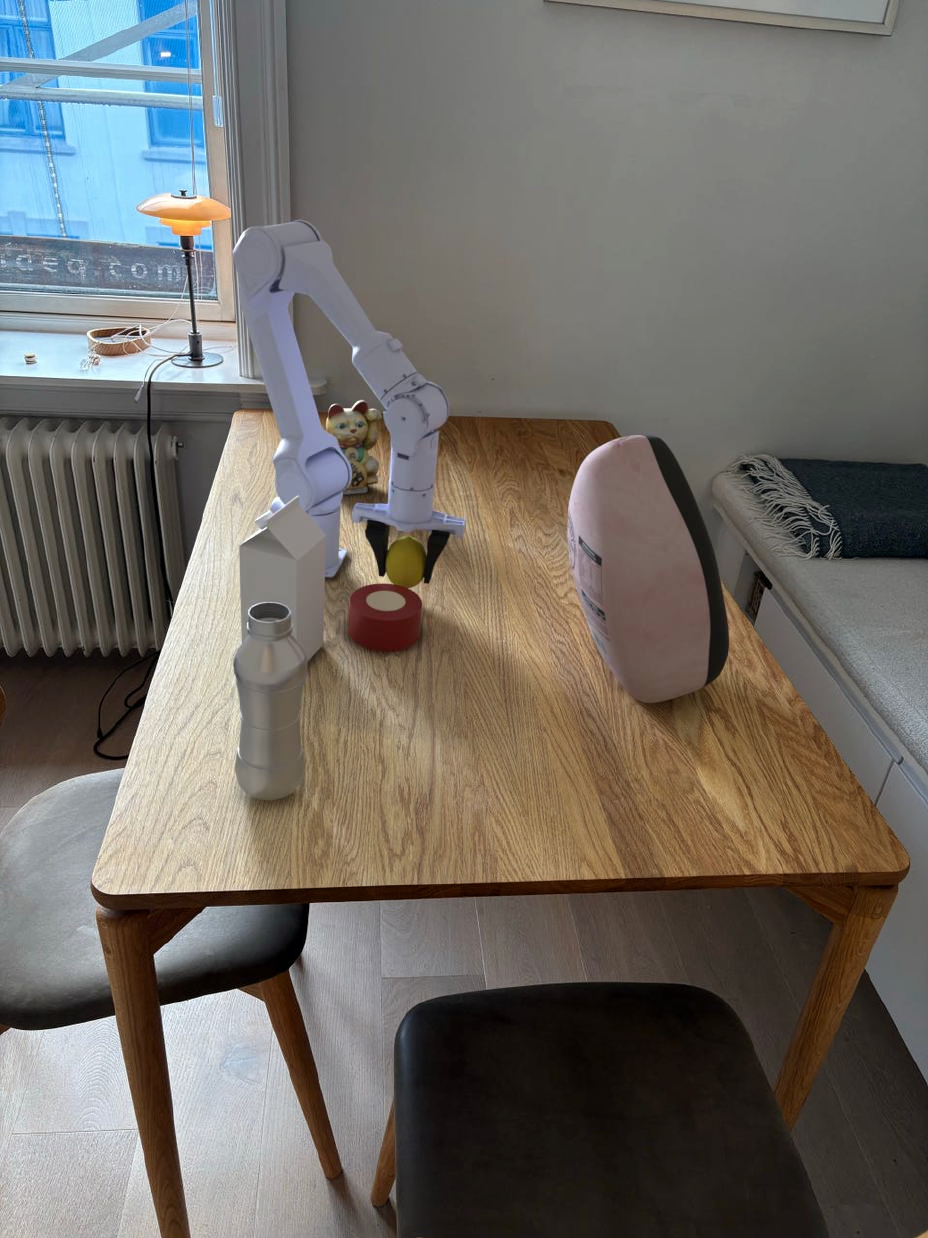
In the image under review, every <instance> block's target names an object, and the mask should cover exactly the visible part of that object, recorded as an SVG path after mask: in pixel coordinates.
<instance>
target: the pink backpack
mask: <svg viewBox="0 0 928 1238" xmlns="http://www.w3.org/2000/svg"><path fill="white" fill-rule="evenodd" d="M694 495H695V494H694V493H693V491H692V489H691V486H690V483H689V482H688V480H687V478H686V476H685V473H684V471H683V469H682V467H681V465H680V463H679V461H678V459H677V458H676V456H675V454H674V453H673V451H672V449H671V448H670V447H669V445H668V444H667V443H666V442H665V441H664V440H663V439H662V438H660V437H659V436H657V435H650V434H635V435H627V436H621V437H618V438H615V439H612V440H610V441H607V442H606V443H604V444H602V445H600V446H598V447H596V448H595V449H594V450H592V451H591V452H590V453H589V454H588V455H587V456H586V457H585V458H584V459H583V461H582V462H581V464H580V466H579V469H578V471H577V473H576V475H575V478H574V481H573V485H572V488H571V493H570V497H569V501H568V509H567V525H566V526H567V527H566V528H567V548H568V549H567V550H568V558H569V565H570V569H571V573H572V574H571V575H572V578H573V581H574V584H575V589H576V591H577V595H578V598H579V600H580V604H581V607H582V610H583V614H584V616H585V619H586V622H587V625H588V627H589V631H590V633H591V636H592V638H593V641H594V643H595V646H596V648H597V650H598V652H599V654H600V656H601V657H602V659H603V661H604V662H605V664H606V666H607V667H608V669H609V670H610V671H611V673H612V674H613V676H614V677H615V678H616V680H617V681H618V682H619V684H621V686H622V687H623V689H624V690H625V691H626V692H627V693H628V694H629V695H630V696H631V697H632V698H634V699H635V700H637V701H639V702H641V703H644V704H655V703H661V702H665V701H669V700H672V699H676V698H678V697H682V696H685V695H688V694H691V693H694V692H696V691H699V690H701V689H703V688H705V687H706V686H708V685H709V684H711V683H713V682H714V681H715V680H716V679H717V678H718V677H719V676H720V675H721V673H722V671H723V670H724V668H725V665H726V663H727V661H728V656H729V651H730V629H729V622H728V621H729V620H728V615H727V613H728V612H727V609H726V608H727V607H726V602H725V597H724V596H725V595H724V591H723V585H722V581H721V576H720V571H719V565H718V561H717V557H716V553H715V549H714V546H713V542H712V539H711V538H710V534H709V532H708V529H707V526H706V524H705V521H704V518H703V516H702V512H701V511H700V508H699V505H698V503H697V500H696V498H695V496H694Z"/></svg>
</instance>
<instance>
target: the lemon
mask: <svg viewBox="0 0 928 1238" xmlns="http://www.w3.org/2000/svg"><path fill="white" fill-rule="evenodd" d="M426 562H427V550H426V547H425V546H424V545H423V543H421V541H419V540H418V539H417V538H415V537H412V536H410V535H405V536H401V537H399V538H397V539H395V540H394V541H393V542H392V543H391V544H390V546H388V552H387V555H386V560H385V569H386V573H385V575H386V576H387V579H388V580H389V581H390V583H391V584H394V585H399V586H403V587H406V588H408V589H412V588H414V587H417V586H418V585H419V584H420V583H421V582H422V581H423V580H424V575H425V569H426Z"/></svg>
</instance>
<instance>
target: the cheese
mask: <svg viewBox="0 0 928 1238" xmlns="http://www.w3.org/2000/svg"><path fill="white" fill-rule="evenodd" d="M422 612H423V600H422V598H421V596H420V595H419V594H417V593H416V592H415V591H414V590H412V589H411V588H406V587H403V586H399V585H394V584H393V583H385V582H384V583H372V584H366V585H364V586H363V585H362V586H361V587H358V588H356V589H355V590H354V591H353V592H351V594H350V596H349V599H348V617H347V618H348V620H347V621H348V622H347V634H348V637H349V639H351V640H352V641H353V642H354V643H355V644H356V645H358V646H359V647H362V648H364V649H367V650H370V651H374V652H375V651H376V652H383V653H385V652H386V653H387V652H389V653H390V652H398V651H402V650H406V649H408V648H411V647H412V646H414V645H415V644H416V643H417V642H418V640H419V639H420V636H421V625H422V615H423V614H422Z"/></svg>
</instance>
